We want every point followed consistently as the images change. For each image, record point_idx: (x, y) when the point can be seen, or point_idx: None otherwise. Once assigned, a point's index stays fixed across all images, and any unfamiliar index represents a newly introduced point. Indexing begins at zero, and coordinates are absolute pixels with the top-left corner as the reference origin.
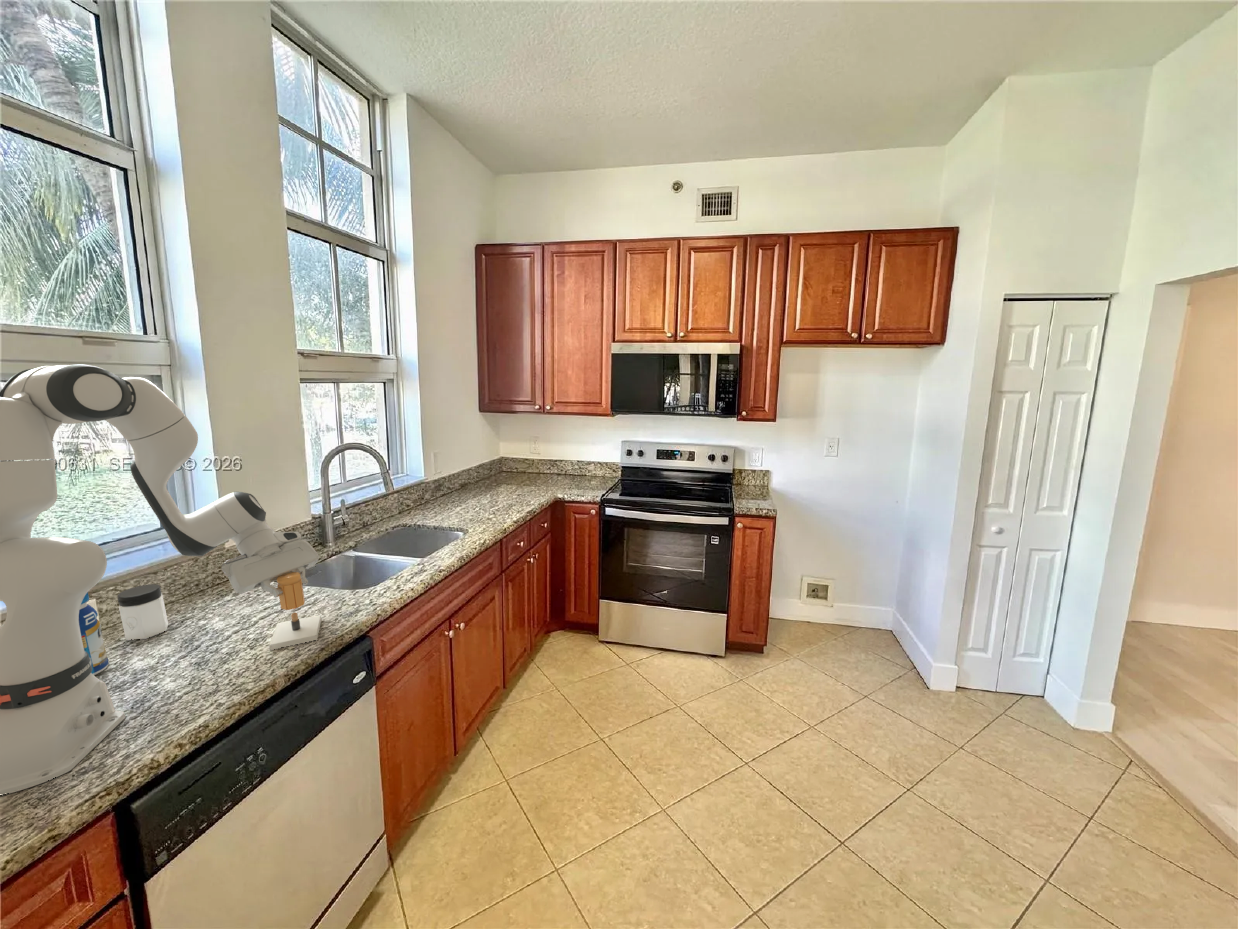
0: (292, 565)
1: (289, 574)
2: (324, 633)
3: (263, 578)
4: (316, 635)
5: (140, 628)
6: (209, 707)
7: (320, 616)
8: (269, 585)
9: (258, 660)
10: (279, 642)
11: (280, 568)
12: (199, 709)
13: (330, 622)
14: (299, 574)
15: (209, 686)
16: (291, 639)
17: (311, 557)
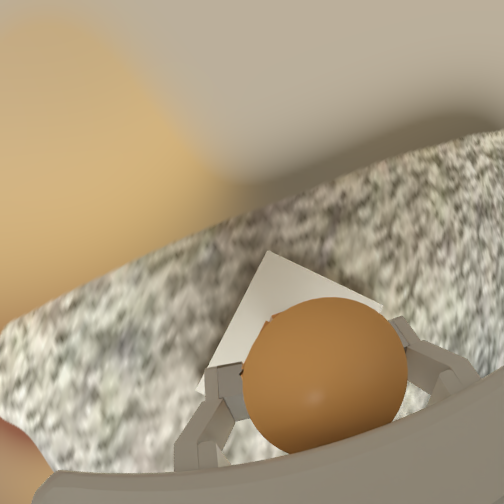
0: (258, 487)
1: (309, 418)
2: (233, 281)
3: (494, 378)
4: (266, 252)
5: None
6: (484, 166)
7: (200, 380)
8: (445, 359)
9: (409, 274)
10: (359, 296)
11: (373, 470)
12: (494, 174)
13: (189, 342)
14: (256, 346)
15: (488, 242)
16: (329, 286)
17: (79, 500)
